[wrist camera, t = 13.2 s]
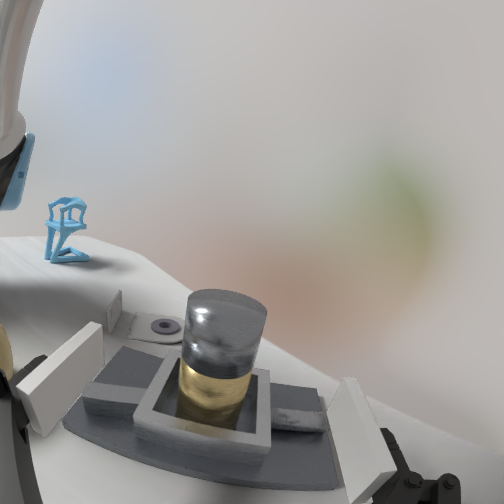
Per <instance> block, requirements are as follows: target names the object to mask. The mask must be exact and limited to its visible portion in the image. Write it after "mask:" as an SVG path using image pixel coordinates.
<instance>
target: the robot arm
mask: <svg viewBox="0 0 504 504" xmlns="http://www.w3.org/2000/svg"><path fill="white" fill-rule="evenodd" d="M43 1H44V0H0V211H3V210H14V209H16V208H17V207H18V206H19V204H20V202H21V199H22V194H23V190H24V185H25V180H26V175H27V171H28V167H29V162H30V158H31V154H32V150H33V146H34V142H35V136H34V134H31V133H30V132H26V133H25V128H26V126H25V124H26V123H25V119H24V117H23V116H22V114H21V113H20V112H19V111H17V109H18V100H19V93H20V86H21V81H22V75H23V70H24V65H25V61H26V56H27V52H28V48H29V44H30V40H31V36H32V33H33V30H34V27H35V24H36V21H37V18H38V15H39V12H40V9H41V6H42V4H43ZM104 365H105V364H104V350H103V329H102V325H101V324H98V323H95V322H92V321H91V322H89V323H88V324H87V325H86V326H84V327H83V328H82V329H81V330H80V331H78V332H77V333H76V334H75V335H74V336H72V337H71V338H70V339H69V340H68V341H66V342H65V343H64V344H63V345H62V346H61V347H59V348H58V349H57V350H56V351H55V352H54V353H52V354H51V355H50V356H49V357H47V356H45V355H41V356H39V357H36V358H34V359H33V360H32V361H31V362H30V363H29V364H27V365H26V366H25V367H24V369H21V370H20V371H19V372H18V373H17V374H16V375H14V376H13V377H12V378H11V379H10V380H9V381H8V380H7V377H6V374H5V372H4V371H3V370H2V369H0V504H43V502H42V499H41V495H40V492H39V488H38V484H37V480H36V476H35V471H34V467H33V462H32V457H31V451H30V445H29V438H28V430H27V427H26V425H27V424H28V423H29V422H30V424H31V426H32V428H33V430H34V431H36V432H37V433H39V434H40V435H42V436H44V437H45V438H46V437H47V435H48V434H49V433H50V431H51V430H52V429H53V428H54V426H55V425H56V424H57V423H58V421H59V420H60V419H61V417H62V416H63V415H64V414H65V412H66V411H67V410H68V409H69V407H70V406H71V405H72V404H73V402H74V401H75V400H76V399H77V397H78V396H79V395H80V394H81V393H82V391H83V390H84V389H85V388H86V386H87V385H88V384H89V383H90V382H91V380H92V379H93V378H94V377H95V376H96V374H97V373H98V372H99V371H100V370H101V368H102V367H103V366H104ZM326 413H327V417H328V420H329V424H330V428H331V432H332V436H333V439H334V443H335V447H336V451H337V455H338V459H339V463H340V467H341V471H342V475H343V479H344V483H345V487H346V491H347V495H348V500H349V504H359V503H365V502H366V501H367V500H368V499H369V498H371V497H372V499H373V503H372V504H461V487H460V481H459V479H458V478H457V477H456V476H455V475H453V474H450V473H447V474H443V475H442V476H441V477H440V478H439V479H438V480H424V479H423V478H422V476H421V475H420V474H418V473H416V472H412V471H410V470H409V467H408V465H407V463H406V461H405V459H404V457H403V454H402V452H401V450H399V446H398V444H397V442H396V440H395V437H394V435H393V434H392V433H391V432H390V431H389V430H388V429H387V428H379V426H378V424H377V422H376V420H375V417H374V415H373V413H372V411H371V409H370V407H369V404H368V402H367V400H366V398H365V396H364V394H363V392H362V389H361V387H360V385H359V383H358V381H357V379H356V378H352V377H343V379H342V381H341V383H340V385H339V388H338V390H337V392H336V394H335V396H334V398H333V400H332V402H331V404H330V406H329V408H328V410H327V412H326Z"/></svg>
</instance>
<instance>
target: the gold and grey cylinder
mask: <svg viewBox="0 0 504 504" xmlns="http://www.w3.org/2000/svg"><path fill="white" fill-rule="evenodd" d="M266 316H267V310H266V308H265V307H264V306H263V305H262V304H261V303H260V302H258V301H257V300H255V299H253V298H251V297H248V296H246V295H243V294H240V293H237V292H233V291H227V290H220V289H205V290H199V291H195V292H193V293H192V294H190V295H189V297H188V302H187V310H186V317H185V325H184V334H183V342H182V351H181V361H180V370H179V381H178V392H177V405H176V415H177V418H180V419H184V420H188V421H192V422H196V423H200V424H204V425H208V426H213V427H218V428H223V429H228V430H233V429H234V428H235V427H236V426H237V423H238V420H239V417H240V413H241V410H242V406H243V403H244V399H245V395H246V392H247V388H248V385H249V381H250V377H251V374H252V370H253V366H254V363H255V359H256V355H257V351H258V347H259V344H260V340H261V336H262V332H263V328H264V324H265V320H266Z"/></svg>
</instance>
